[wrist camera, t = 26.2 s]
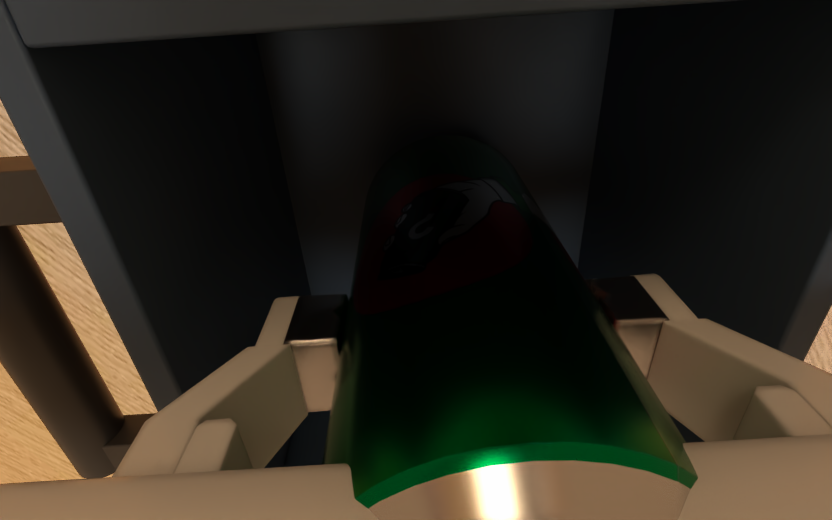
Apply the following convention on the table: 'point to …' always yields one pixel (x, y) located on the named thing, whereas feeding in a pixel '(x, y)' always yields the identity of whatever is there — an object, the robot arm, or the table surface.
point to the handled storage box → (372, 146)
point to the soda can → (488, 361)
